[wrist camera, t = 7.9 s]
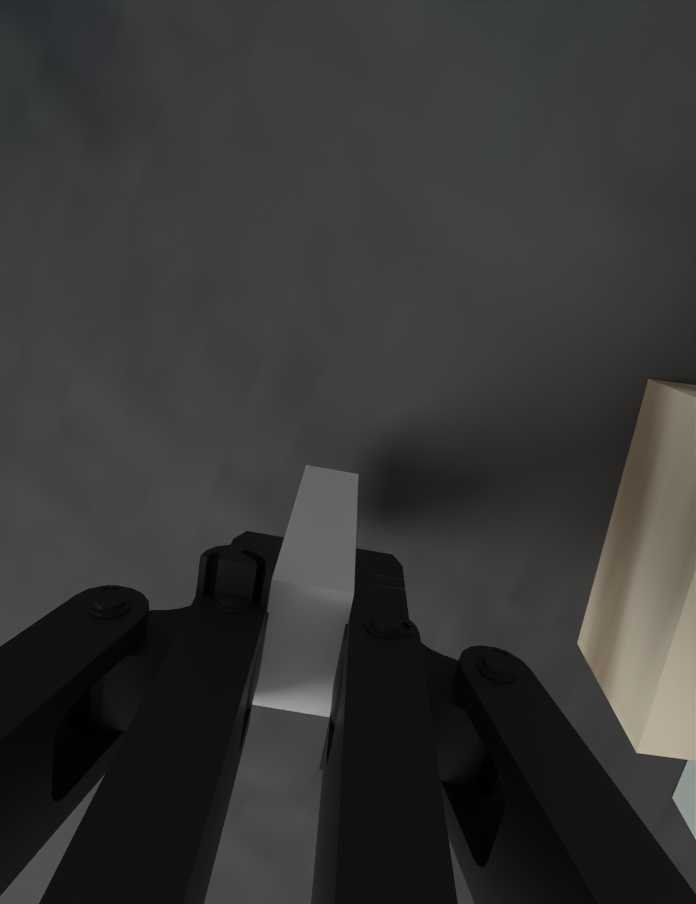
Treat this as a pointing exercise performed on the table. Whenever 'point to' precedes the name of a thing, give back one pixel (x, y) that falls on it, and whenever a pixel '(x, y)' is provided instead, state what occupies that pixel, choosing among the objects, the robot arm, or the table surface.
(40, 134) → the table surface
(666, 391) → the block
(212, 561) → the robot arm
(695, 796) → the batten
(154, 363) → the table surface
